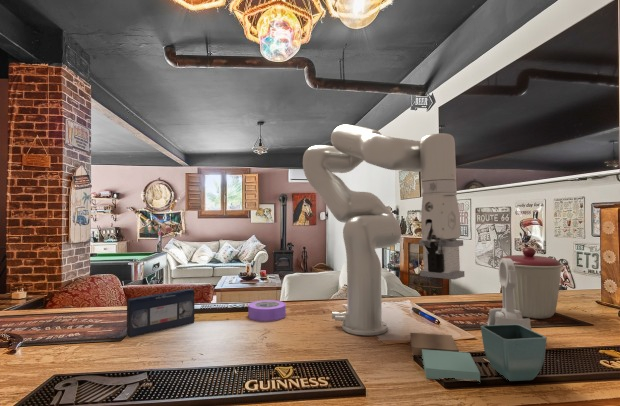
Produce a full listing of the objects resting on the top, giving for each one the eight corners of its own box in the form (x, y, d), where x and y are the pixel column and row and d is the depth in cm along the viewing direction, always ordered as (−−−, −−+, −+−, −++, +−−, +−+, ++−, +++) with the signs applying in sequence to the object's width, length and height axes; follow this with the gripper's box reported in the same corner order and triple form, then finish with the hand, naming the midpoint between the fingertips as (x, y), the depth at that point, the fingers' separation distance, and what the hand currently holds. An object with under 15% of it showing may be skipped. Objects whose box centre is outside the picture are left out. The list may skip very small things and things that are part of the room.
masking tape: (266, 309, 126) (265, 297, 126) (293, 314, 119) (293, 302, 119) (240, 317, 116) (240, 305, 116) (268, 324, 109) (268, 311, 109)
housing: (464, 276, 82) (463, 240, 82) (454, 279, 78) (452, 241, 79) (431, 273, 88) (429, 239, 88) (420, 275, 84) (418, 240, 85)
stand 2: (426, 378, 74) (425, 368, 74) (421, 358, 83) (421, 349, 83) (480, 382, 72) (480, 372, 72) (469, 361, 81) (469, 352, 81)
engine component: (493, 344, 92) (538, 346, 90) (492, 261, 92) (537, 262, 90) (482, 329, 102) (522, 332, 100) (481, 255, 103) (521, 256, 101)
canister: (489, 305, 127) (488, 244, 127) (546, 307, 125) (545, 244, 125) (510, 322, 109) (509, 250, 109) (577, 324, 107) (576, 250, 107)
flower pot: (479, 367, 79) (479, 324, 79) (519, 365, 79) (518, 323, 79) (504, 387, 70) (504, 339, 70) (549, 385, 71) (548, 337, 71)
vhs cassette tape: (129, 338, 98) (129, 300, 98) (125, 335, 100) (125, 298, 100) (195, 323, 110) (195, 289, 110) (191, 321, 112) (191, 288, 112)
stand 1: (412, 355, 85) (412, 347, 85) (410, 340, 95) (410, 332, 95) (458, 359, 83) (458, 350, 83) (451, 343, 92) (451, 335, 93)
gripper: (436, 186, 75) (439, 277, 74) (471, 189, 87) (474, 267, 86) (403, 189, 81) (406, 273, 80) (440, 191, 92) (443, 265, 92)
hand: (441, 269), depth 83 cm, fingers closed on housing, 5 cm apart
